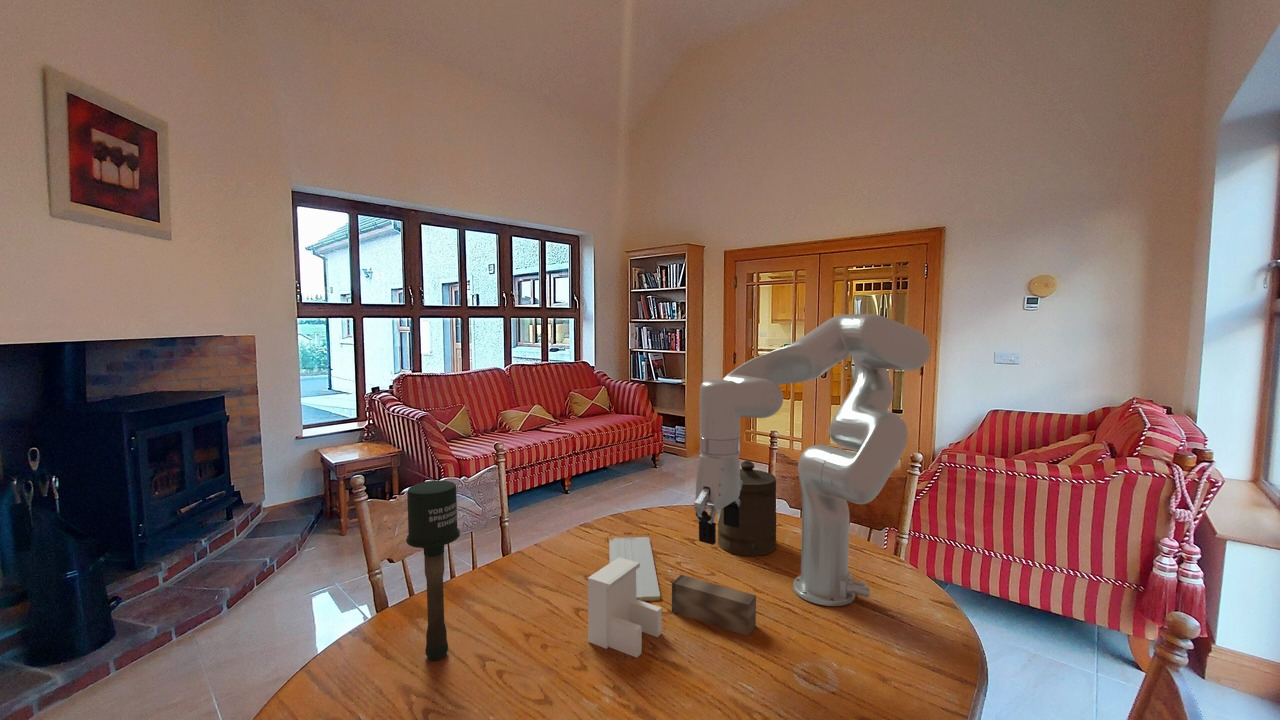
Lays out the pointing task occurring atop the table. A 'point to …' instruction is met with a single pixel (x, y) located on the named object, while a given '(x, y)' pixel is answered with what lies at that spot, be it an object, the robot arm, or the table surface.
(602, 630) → the white forked bracket
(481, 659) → the table surface
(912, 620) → the table surface
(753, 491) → the wooden container
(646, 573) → the baseboard molding
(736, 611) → the rail
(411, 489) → the potato masher grenade
